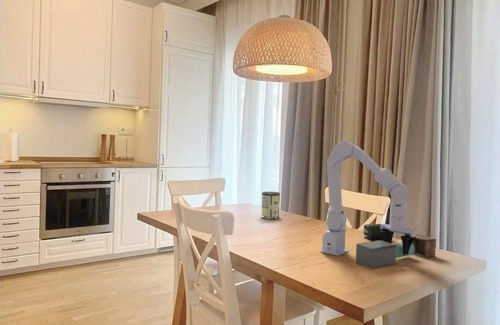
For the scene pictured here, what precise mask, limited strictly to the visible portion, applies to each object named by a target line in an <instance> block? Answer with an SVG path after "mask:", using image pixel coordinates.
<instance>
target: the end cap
mask: <svg viewBox="0 0 500 325" xmlns="http://www.w3.org/2000/svg"><path fill="white" fill-rule="evenodd" d="M381 224H382V223H375V224H370V223H366V224H364V225H363V230H364V231H363V235H364V236H363V238H364V239H366V240H368V241H373V240H374V241H378V240H384V239H383V237H382V235H381V233H380V231H382V230H383V229H380V227H381ZM365 230H366V231H365Z"/></svg>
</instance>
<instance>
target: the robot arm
mask: <svg viewBox="0 0 500 325" xmlns="http://www.w3.org/2000/svg"><path fill="white" fill-rule="evenodd" d="M348 158H350V159H353V160H357V161H360V162H361V163H362V164H363V165H364V166H365V167H366V168H367V169H368V170H369V171H370V172H372V174H374V180H375V181H376V182H377V183H378V184H380V185H381V187H383V189H385V190H386V191H387V192H389V194H390V197H391V201H390V205H389V206H390V207H389V208H390V211H389V212H390V213H389V224H386V223H380V224H381V227H380V229H383V230H382V231H380V233H381V235H382V237H383V239H382V240H383V241H384V242H387V243H391V244H393V237H394V233H397V234H401V235H400V238H401V243H402V245H403V255H408V253H409V249H410V247H411V245H412V243H413V241H414V240H415V238H416V234H417V231H416V230H414V229H413V230H412V229H410V228H408V227H407V214H408V213H407V210H408V204H407V203H408V199H407V197H408V194H409V191H408V190H409V189H408V187H407V186H406V184H405V183H403V182H402V180H401V179H398V178H397V177H396V176H395V175H394V174H393V173H392V170H391V169H387V168H382V167H380V165H378V164H377V163H376V162H375V161H374V160H373V159H372V158H371V157H370V155H368V154H367V153H366V152H365V151H364V150H363V149H362V148H361V147H360V146H358V145H355V143H354V142H352V141H350V140H341V141H339V142H338V143H336V145H334V146H333V148H332V151H331V153H330V154H329V156H328V158H327V160H326V170H327V188H328V203H329V204H328V206H329V207H328V211H327V212H328V213H327V214H328V215H327V218H326V227H327V228H326V231H325V233H323V235H322V244H321V245H322V246H321V248H322V249H321V250H320V251H319V252H320V253H325V254H328V255H332V256H341V255H344V254H345V253H348V252H349V251H350V250H349V249H346V232H347V231H346V227H345V224H346V222H347V215H346V213H345V211H344V206H343V199H342V198H343V196H342V181H341V165H342V164H343V163H344V162H345V160H347V159H348Z"/></svg>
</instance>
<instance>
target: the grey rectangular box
mask: <svg viewBox="0 0 500 325" xmlns="http://www.w3.org/2000/svg"><path fill="white" fill-rule="evenodd" d="M394 244H395V243H392V244H391V243H387V242H384V240H382V239H377V240H374V241H373V240H371V241H366V242H359V243H356V245H355V246H356V247H355V252H356V253H355V263H356V264H357V265H360V266H362V267H366V268H368V269H370V270H375V269H381V268H385V267H391V266H394V265H396V264H397V258H396V245H394Z"/></svg>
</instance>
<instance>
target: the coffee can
mask: <svg viewBox="0 0 500 325" xmlns="http://www.w3.org/2000/svg"><path fill="white" fill-rule="evenodd" d="M280 194H281V192H278V191H262V192H261V217H262V216H264V217H270V218H275V217H279V218H280V196H281V195H280ZM275 219H276V218H275Z"/></svg>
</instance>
